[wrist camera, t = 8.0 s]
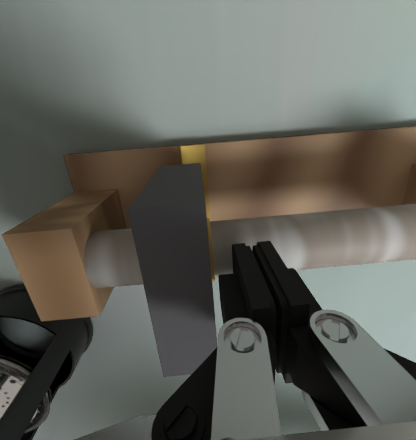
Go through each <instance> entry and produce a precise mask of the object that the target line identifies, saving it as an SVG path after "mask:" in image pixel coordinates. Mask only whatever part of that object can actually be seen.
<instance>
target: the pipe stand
mask: <svg viewBox="0 0 416 440" xmlns="http://www.w3.org/2000/svg"><path fill="white" fill-rule="evenodd" d="M64 159H65V163H66V166H67V169H68V173H69V176H70V179H71V183H72V186H73V189H74V193H73V194H71V195H69V196H68V197H66V198H64V199H62V200H61V201H59V202H57V203H55V204H54V205H52V206H50V207H49V208H47V209H45V210H43V211H42V212H40V213H38V214H36V215H35V216H33V217H31V218H30V219H28V220H26V221H24V222H23V223H21V224H19V225H17V226H16V227H14V228H12V229H11V230H9V231H7V232H5V233H4V234H2V236H3V238H4V241H5V243H6V245H7V247H8V249H9V252H10V254H11V256H12V258H13V260H14V263H15V265H16V267H17V269H18V271H19V274H20V276H21V278H22V280H23V282H24V285H25V287H26V289H27V291H28V293H29V296H30V298H31V300H32V302H33V304H34V307H35V309H36V311H37V313H38V315H39V318H40V320H41V321H52V320H62V319H73V318H84V317H95V316H100V314H101V312H102V310H103V308H104V306H105V304H106V302H107V300H108V298H109V296H110V294H111V292H112V290H113V288H114V287H117V286H128V285H139V284H143V279H142V275H141V270H140V266H139V261H138V256H137V252H136V247H135V243H134V238H133V233H132V229H131V224H130V220H129V215H128V210H127V209H128V207H129V206H130V205H131V204H132V202H133V201H134V200H135V198H136V197H137V196H138V195H139V193H140V192H141V191H142V190H143V188H144V187H145V186H146V184H147V183H148V182H149V181H150V179H151V178H152V177H153V176H154V174H155V173H156V172H157V171H158V169H159V168H160V167H161V166H169V165H181V164H193V163H201V171H202V179H203V187H204V195H205V203H206V215H207V227H208V239H209V252H210V264H211V276H212V282H215V277H219V275H221V274H232V273H233V262H232V244H239V243H245V245H246V246H250V247H251V250H252V248H253V245H257V242H261V241H271V243H272V244H273V246H274V248H275V249H276V251H277V252H278V254H279V255H280V257H281V259H282V260H283V262H284V263H285V265H286V267H287V268H294V269H295V270H303V269H314V268H325V267H336V266H347V265H358V264H369V263H380V262H391V261H402V260H413V259H416V126H411V127H398V128H386V129H374V130H361V131H349V132H337V133H325V134H312V135H300V136H288V137H275V138H263V139H251V140H238V141H226V142H214V143H201V144H189V145H177V146H164V147H152V148H140V149H128V150H115V151H103V152H91V153H78V154H68V155H64Z"/></svg>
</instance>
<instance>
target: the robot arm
mask: <svg viewBox="0 0 416 440" xmlns="http://www.w3.org/2000/svg"><path fill="white" fill-rule="evenodd" d="M232 262H233V273H232V274H221V275H219V291H220V301H221V310H222V317H223V326H222V327H221V328H220V331H219V334H218V346H217V348H216V349H215V350H214V351H213V352H212V353H211V354H210V355H209V356H208V357H207V358H206V360H205V361H204V362H203V363H202V364H201V365H200V366H199V367H198V368H197V369H196V370H195V371H194V372H193V373H192V375H191V376H190V377H189V378H188V379H187V380H186V381H185V382H184V383H183V384H182V385H181V386H180V387H179V388H178V389H177V391H176V392H175V393H174V394H173V395H172V396H171V397H170V398H169V399H168V400H167V401H166V402H165V403H164V404H163V406H162V407H161V408H160V410H159V411H158V413H157V414H154V415H152V416H149V417H146V418H145V417H144V414H143V415H140V416H137V417H135V418H132V419H129V420H126V421H124V422H121V423H118V424H116V425H113V426H110V427H107V428H105V429H102V430H99V431H96V432H94V433H91V434H88V435H85V436H83V437H80V438H77V439H74V440H416V363H415V362H412V361H410V360H408V359H406V358H404V357H401V356H399V355H397V354H395V353H393V352H391V351H388V350H386V349H384V348H382V347H381V346H380V345H379V344H378V343H377V342H376V341H375V340H374V339H373V338H372V337H371V336H370V335H369V334H368V333H367V332H366V331H365V330H364V329H363V328H362V327H361V326H360V325H359V324H358V323H357V322H356V321H355V320H353V319H352V318H351V317H349V316H347V315H345V314H344V313H341V312H338V311H335V310H322V308H321V307H320V305H319V304H318V303H317V301H316V300H315V298H314V297H313V295H312V294H311V292H310V291H309V289H308V288H307V286H306V285H305V283H304V282H303V280H302V279H301V277H300V276H299V275H298V273H297V272H296V270H295V269H294V268H287V267H286V265H285V263H284V262H283V260H282V259H281V257H280V255H279V254H278V252H277V251H276V249H275V248H274V246H273V244H272V243H271V241H261V242H257V245H253V248H252V250H251V247H250V246H246V245H245V243H239V244H232ZM275 369H276V371H277V373H282V374H283V377H284V380H285V383H293V384H294V385H295V386H297V387H298V388H300V389H301V390H302V395H303V397H304V400H305V402H306V404H307V406H308V408H309V409H310V411H311V413H312V415H313V417H314V419H315V421H316V422H317V424H318V426H319V428H320V430H321V431H318V432H308V433H299V434H290V435H282V433H281V426H280V420H279V413H278V407H277V400H276V394H275V387H274V383H275Z"/></svg>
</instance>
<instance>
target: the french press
mask: <svg viewBox="0 0 416 440" xmlns="http://www.w3.org/2000/svg"><path fill="white" fill-rule="evenodd" d="M0 317H6V318H15V319H21V320H25V321H28V322H31V323H34V324H37V325H39V326H41V327H43V328H45V329H47V330H48V331H50V332H51V333H53V334H54V335H55V337H54V338H53V340H52V341H51V343H50V344H49V346H48V347H47V349H46V350H45V352H44V353H43V355H39V354H33V353H30V352H26V351H24V350H22V349H19V348H18V347H16V346H14V345H13V344H11V343H10V342H9V341H8V340H7V339H6V338H5V337H4V336H3V335H2V333H1V331H0V440H32V439H33V437H34V435H35V433H36V431H37V429H38V427H39V426H40V425H41V424H42V423H43V422H44V421H45V420H46V418H47V416H48V414H49V410H50V404H51V402H52V400H53V398H54V396H55V394H56V392H57V390H58V388H59V387H61V386H62V385H64V384H65V383H66V382H67V381H68V380H69V379H70V378H71V376H72V374H73V372H74V370H75V368H76V366H77V364H78V362H79V359H80V357H81V355H82V354H83V353H84V352H85V351H86V350H87V348H88V346H89V344H90V342H91V340H92V336H93V324H92V322H91V319H90V317H84V318H73V319H62V320H52V321H41V320H40V318H39V315H38V313H37V311H36V309H35V307H34V304H33V302H32V300H31V298H30V296H29V293H28V291H27V289H26V287H25V285H16V286H12V287H8V288H5V289H3V290H1V291H0Z"/></svg>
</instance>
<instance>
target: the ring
mask: <svg viewBox="0 0 416 440" xmlns="http://www.w3.org/2000/svg"><path fill="white" fill-rule="evenodd" d="M127 210H128V215H129V220H130V224H131V229H132V233H133V238H134V243H135V247H136V252H137V256H138V261H139V266H140V270H141V275H142V279H143V284H144V289H145V293H146V298H147V302H148V307H149V312H150V316H151V321H152V325H153V330H154V335H155V339H156V344H157V348H158V353H159V358H160V362H161V367H162V371H163V376H164V377H166V376H176V375H186V374H192V373H193V372H194V371H195V370H196V369H197V368H198V367H199V366H200V365H201V364H202V363H203V362H204V361H205V360H206V358H207V357H208V356H209V355H210V354H211V353H212V352H213V351H214V350H215V349H216V348H217V338H216V325H215V313H214V301H213V289H212V276H211V264H210V252H209V239H208V227H207V215H206V203H205V195H204V187H203V179H202V171H201V163H193V164H181V165H169V166H161V167H160V168H159V169H158V171H157V172H156V173H155V174H154V176H153V177H152V178H151V179H150V181H149V182H148V183H147V184H146V186H145V187H144V188H143V190H142V191H141V192H140V193H139V195H138V196H137V197H136V198H135V200H134V201H133V202H132V204H131V205H130V206H129V207H128V209H127Z"/></svg>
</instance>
